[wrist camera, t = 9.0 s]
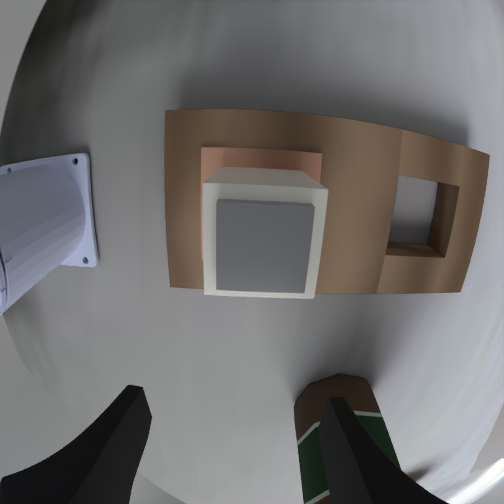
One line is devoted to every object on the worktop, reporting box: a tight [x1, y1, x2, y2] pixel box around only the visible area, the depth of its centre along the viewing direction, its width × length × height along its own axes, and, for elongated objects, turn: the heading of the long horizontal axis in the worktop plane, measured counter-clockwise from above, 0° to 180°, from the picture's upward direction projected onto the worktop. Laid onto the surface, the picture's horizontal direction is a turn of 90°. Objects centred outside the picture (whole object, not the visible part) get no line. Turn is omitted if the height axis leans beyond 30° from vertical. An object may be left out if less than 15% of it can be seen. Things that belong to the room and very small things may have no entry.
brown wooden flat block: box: [165, 109, 490, 294], centre depth 16 cm, size 20×10×3 cm, turn 88°
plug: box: [203, 167, 328, 299], centre depth 12 cm, size 4×4×6 cm
